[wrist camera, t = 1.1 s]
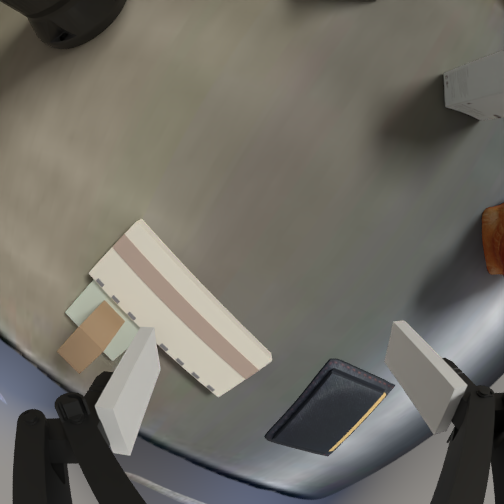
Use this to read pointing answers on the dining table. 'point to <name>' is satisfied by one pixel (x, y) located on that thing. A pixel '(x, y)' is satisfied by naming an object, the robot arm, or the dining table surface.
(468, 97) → the skincare box
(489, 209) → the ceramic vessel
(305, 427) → the wallet
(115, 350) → the stub
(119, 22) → the dining table surface
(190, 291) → the pad
